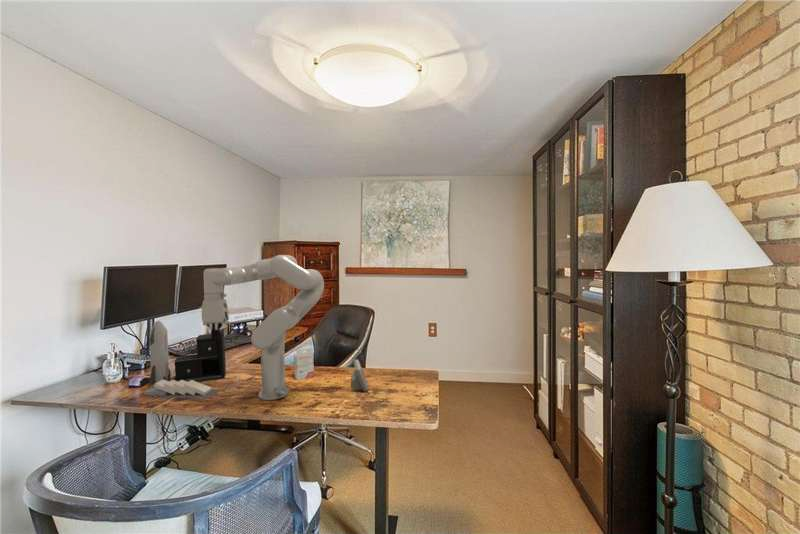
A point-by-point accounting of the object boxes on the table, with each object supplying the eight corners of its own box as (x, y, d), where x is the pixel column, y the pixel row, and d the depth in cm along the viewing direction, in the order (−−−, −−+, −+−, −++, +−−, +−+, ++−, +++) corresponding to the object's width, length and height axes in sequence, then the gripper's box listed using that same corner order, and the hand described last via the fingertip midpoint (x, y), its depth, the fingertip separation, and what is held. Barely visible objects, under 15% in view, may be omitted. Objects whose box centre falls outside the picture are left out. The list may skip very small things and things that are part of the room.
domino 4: (202, 387, 159) (182, 379, 159) (195, 392, 154) (174, 383, 154) (201, 391, 159) (181, 382, 159) (193, 395, 154) (173, 387, 154)
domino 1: (173, 387, 160) (152, 388, 160) (165, 391, 155) (143, 392, 155) (173, 390, 160) (152, 391, 160) (165, 395, 155) (143, 395, 156)
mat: (222, 390, 161) (222, 389, 161) (209, 398, 151) (209, 397, 151) (174, 389, 162) (174, 388, 162) (158, 398, 152) (158, 397, 152)
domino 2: (183, 387, 159) (163, 379, 160) (175, 391, 154) (154, 383, 155) (182, 390, 159) (162, 382, 160) (174, 395, 154) (153, 386, 155)
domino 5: (212, 387, 158) (191, 379, 159) (205, 392, 153) (184, 383, 154) (210, 391, 159) (190, 383, 159) (204, 395, 154) (183, 387, 154)
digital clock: (368, 392, 155) (367, 368, 154) (347, 393, 155) (347, 369, 155) (371, 380, 171) (371, 358, 171) (352, 380, 171) (352, 358, 171)
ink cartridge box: (311, 374, 181) (310, 345, 181) (314, 376, 177) (313, 347, 176) (294, 377, 177) (293, 347, 176) (296, 380, 172) (296, 350, 172)
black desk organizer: (169, 386, 166) (167, 337, 166) (174, 379, 176) (172, 332, 176) (224, 379, 175) (223, 332, 175) (226, 373, 185) (224, 328, 185)
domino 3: (192, 387, 159) (172, 379, 160) (185, 392, 154) (164, 383, 155) (191, 391, 159) (171, 382, 160) (184, 395, 154) (163, 386, 155)
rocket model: (156, 387, 166) (154, 323, 165) (141, 387, 166) (139, 323, 166) (176, 377, 180) (174, 318, 179) (163, 377, 180) (161, 318, 180)
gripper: (235, 295, 158) (236, 336, 158) (203, 296, 159) (204, 336, 159) (225, 297, 150) (227, 340, 151) (192, 298, 151) (193, 340, 152)
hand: (215, 338), depth 155 cm, fingers closed
